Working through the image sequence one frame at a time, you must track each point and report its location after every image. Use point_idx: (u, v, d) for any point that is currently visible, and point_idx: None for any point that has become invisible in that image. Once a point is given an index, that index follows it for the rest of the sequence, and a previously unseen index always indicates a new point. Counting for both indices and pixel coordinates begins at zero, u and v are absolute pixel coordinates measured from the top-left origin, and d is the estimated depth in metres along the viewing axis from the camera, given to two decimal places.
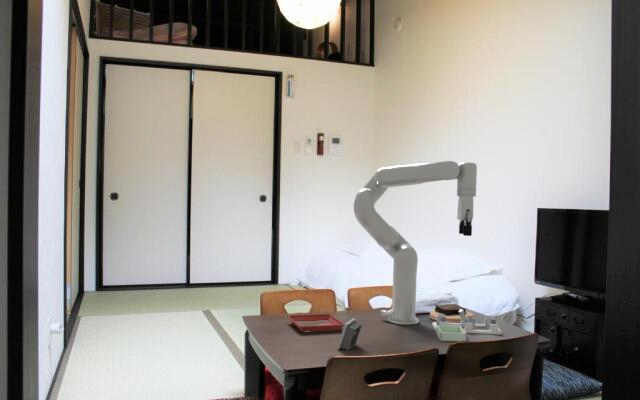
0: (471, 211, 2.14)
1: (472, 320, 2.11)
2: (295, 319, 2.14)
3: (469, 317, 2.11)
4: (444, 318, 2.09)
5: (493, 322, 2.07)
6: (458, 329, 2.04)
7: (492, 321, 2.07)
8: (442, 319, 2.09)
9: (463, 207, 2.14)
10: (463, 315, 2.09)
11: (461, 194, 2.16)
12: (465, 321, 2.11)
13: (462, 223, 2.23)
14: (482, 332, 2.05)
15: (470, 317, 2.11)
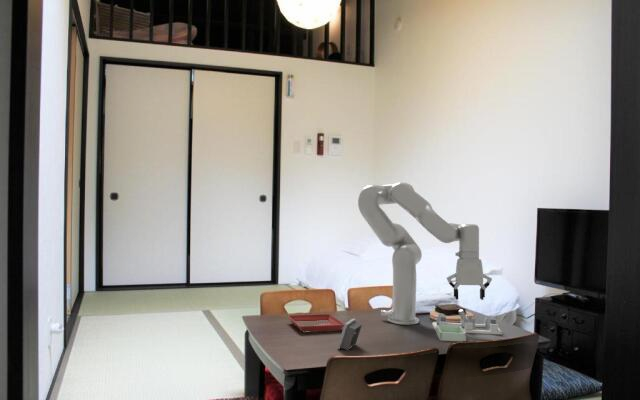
0: None
1: (472, 320, 2.11)
2: (295, 319, 2.14)
3: (469, 317, 2.11)
4: (444, 318, 2.09)
5: (493, 322, 2.07)
6: (458, 329, 2.04)
7: (492, 321, 2.07)
8: (442, 319, 2.09)
9: (482, 271, 2.08)
10: (463, 315, 2.09)
11: (477, 258, 2.08)
12: (465, 321, 2.11)
13: None
14: (482, 332, 2.05)
15: (470, 317, 2.11)
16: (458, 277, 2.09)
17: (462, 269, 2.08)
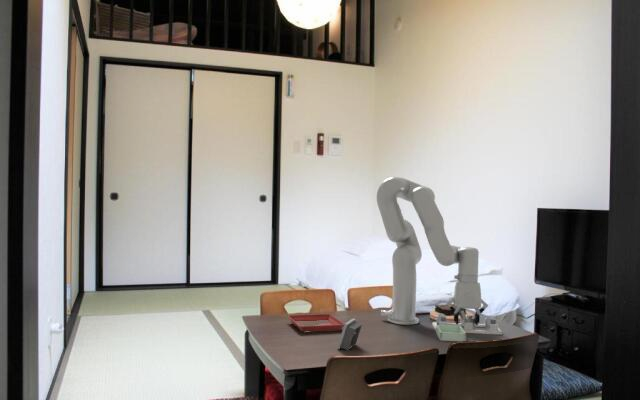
0: None
1: (472, 320, 2.11)
2: (295, 319, 2.14)
3: (469, 317, 2.11)
4: (444, 318, 2.09)
5: (493, 322, 2.07)
6: (458, 329, 2.04)
7: (492, 321, 2.07)
8: (442, 319, 2.09)
9: None
10: (463, 315, 2.09)
11: (476, 282, 2.08)
12: (465, 321, 2.11)
13: None
14: (482, 332, 2.05)
15: (470, 317, 2.11)
16: (456, 300, 2.09)
17: (460, 292, 2.09)
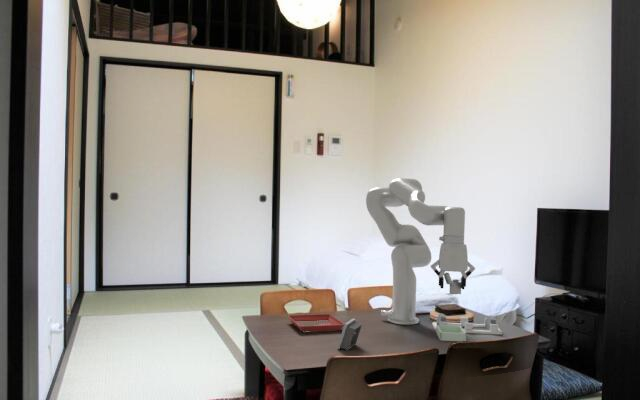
0: None
1: (458, 284, 1.99)
2: (295, 319, 2.14)
3: (455, 281, 1.99)
4: (444, 318, 2.09)
5: (493, 322, 2.07)
6: (458, 329, 2.04)
7: (492, 321, 2.07)
8: (442, 319, 2.09)
9: (467, 257, 1.96)
10: (448, 278, 1.97)
11: (462, 243, 1.96)
12: (451, 285, 1.98)
13: (442, 276, 1.99)
14: (482, 332, 2.05)
15: (456, 281, 1.99)
16: (441, 263, 1.96)
17: (445, 254, 1.96)
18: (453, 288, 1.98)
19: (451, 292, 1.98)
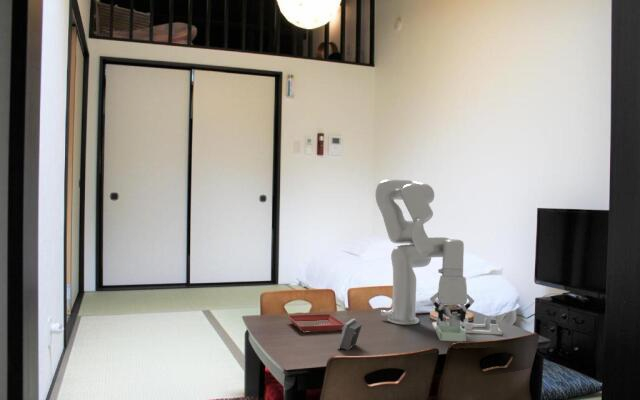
0: None
1: (458, 317, 1.99)
2: (295, 319, 2.14)
3: (454, 313, 1.99)
4: (444, 318, 2.09)
5: (493, 322, 2.07)
6: (458, 329, 2.04)
7: (492, 321, 2.07)
8: None
9: (466, 290, 1.96)
10: (448, 311, 1.97)
11: (461, 276, 1.96)
12: (450, 318, 1.98)
13: (441, 308, 1.99)
14: (482, 332, 2.05)
15: (455, 313, 1.99)
16: (440, 295, 1.97)
17: (445, 287, 1.96)
18: (452, 321, 1.98)
19: (451, 325, 1.98)
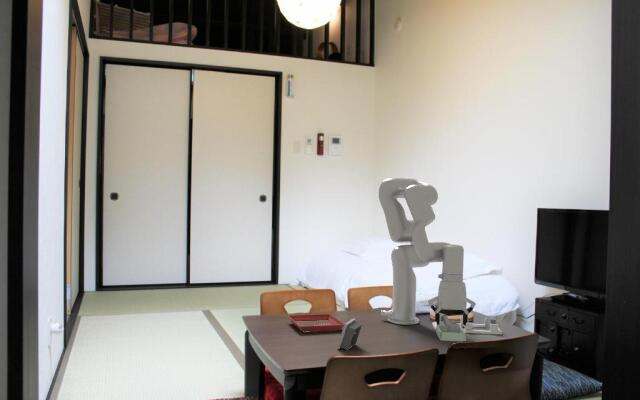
0: None
1: (456, 326, 1.99)
2: (295, 319, 2.14)
3: (453, 322, 1.99)
4: None
5: (493, 322, 2.07)
6: None
7: (492, 321, 2.07)
8: (442, 319, 2.09)
9: None
10: (446, 320, 1.97)
11: (461, 281, 1.96)
12: (448, 327, 1.99)
13: (438, 312, 1.99)
14: (482, 332, 2.05)
15: (454, 322, 1.99)
16: (440, 301, 1.97)
17: (444, 292, 1.96)
18: (451, 330, 1.98)
19: None
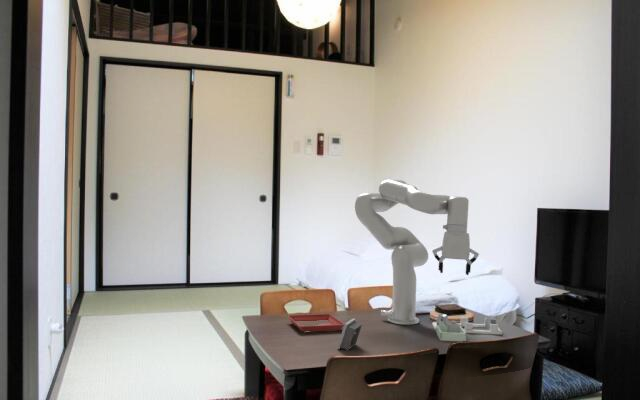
0: None
1: (456, 326, 1.99)
2: (295, 319, 2.14)
3: (453, 322, 1.99)
4: None
5: (493, 322, 2.07)
6: None
7: (492, 321, 2.07)
8: (442, 319, 2.09)
9: (469, 245, 2.02)
10: (446, 320, 1.97)
11: (464, 231, 2.02)
12: (448, 327, 1.99)
13: None
14: (482, 332, 2.05)
15: (454, 322, 1.99)
16: (443, 250, 2.03)
17: (448, 242, 2.02)
18: (451, 330, 1.98)
19: None
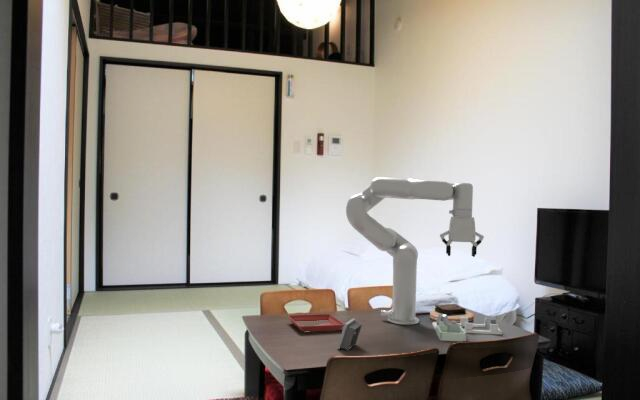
0: None
1: (456, 326, 1.99)
2: (295, 319, 2.14)
3: (453, 322, 1.99)
4: None
5: (493, 322, 2.07)
6: None
7: (492, 321, 2.07)
8: (442, 319, 2.09)
9: None
10: (446, 320, 1.97)
11: (470, 215, 2.13)
12: (448, 327, 1.99)
13: (449, 244, 2.16)
14: (482, 332, 2.05)
15: (454, 322, 1.99)
16: (451, 234, 2.14)
17: (455, 226, 2.13)
18: (451, 330, 1.98)
19: None
